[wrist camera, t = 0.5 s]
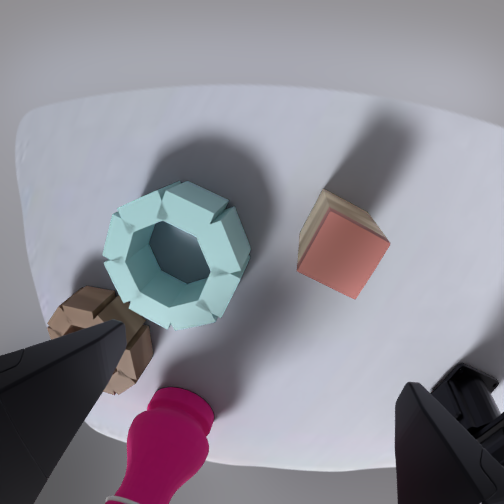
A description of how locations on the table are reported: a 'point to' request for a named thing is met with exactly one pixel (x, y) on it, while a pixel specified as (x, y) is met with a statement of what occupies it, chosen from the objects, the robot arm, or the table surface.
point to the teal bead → (162, 284)
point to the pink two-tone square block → (340, 245)
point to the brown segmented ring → (101, 310)
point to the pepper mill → (165, 447)
